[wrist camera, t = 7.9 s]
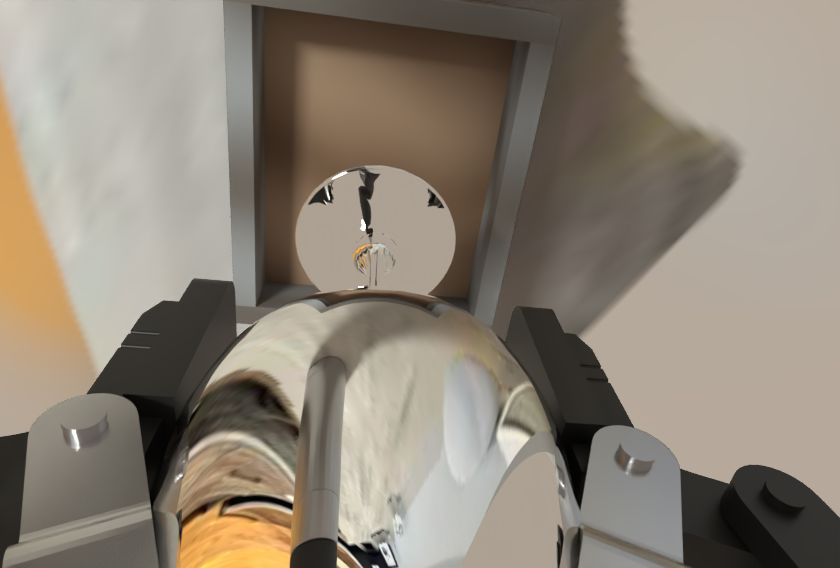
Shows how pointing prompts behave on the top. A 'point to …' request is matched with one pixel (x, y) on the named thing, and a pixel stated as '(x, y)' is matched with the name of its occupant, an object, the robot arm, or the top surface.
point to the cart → (380, 125)
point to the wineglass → (367, 415)
